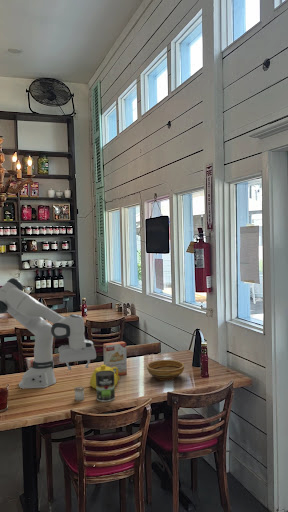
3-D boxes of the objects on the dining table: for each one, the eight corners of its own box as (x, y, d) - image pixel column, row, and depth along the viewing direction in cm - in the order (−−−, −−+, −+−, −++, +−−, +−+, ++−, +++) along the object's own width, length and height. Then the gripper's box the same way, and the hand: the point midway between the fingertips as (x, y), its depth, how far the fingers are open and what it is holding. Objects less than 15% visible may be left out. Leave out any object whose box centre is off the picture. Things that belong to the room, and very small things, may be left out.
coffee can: (116, 400, 236) (115, 375, 236) (97, 402, 235) (96, 376, 234) (114, 394, 246) (113, 369, 246) (95, 395, 245) (95, 371, 244)
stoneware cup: (75, 401, 238) (74, 390, 237) (74, 397, 243) (73, 387, 243) (85, 400, 239) (84, 389, 239) (83, 396, 244) (83, 386, 244)
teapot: (85, 385, 264) (85, 364, 264) (113, 379, 273) (113, 359, 273) (99, 394, 247) (98, 372, 246) (128, 388, 256) (128, 366, 256)
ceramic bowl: (194, 381, 264) (194, 368, 264) (158, 387, 255) (157, 374, 255) (172, 368, 292) (172, 356, 291) (139, 374, 282) (138, 361, 282)
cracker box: (107, 378, 276) (105, 345, 275) (103, 375, 281) (102, 343, 280) (127, 374, 282) (126, 342, 281) (123, 372, 287) (122, 340, 286)
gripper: (58, 347, 234) (59, 372, 235) (96, 343, 239) (97, 368, 240) (57, 344, 240) (58, 369, 241) (94, 340, 245) (95, 365, 246)
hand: (78, 368), depth 240 cm, fingers open, 8 cm apart
